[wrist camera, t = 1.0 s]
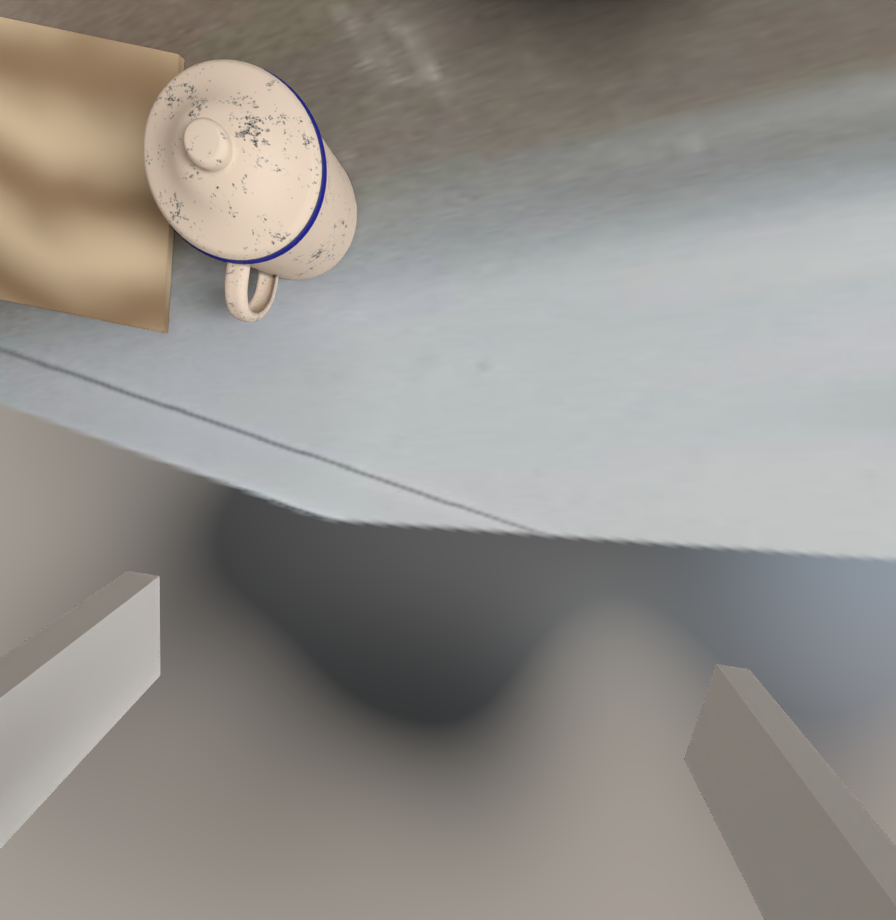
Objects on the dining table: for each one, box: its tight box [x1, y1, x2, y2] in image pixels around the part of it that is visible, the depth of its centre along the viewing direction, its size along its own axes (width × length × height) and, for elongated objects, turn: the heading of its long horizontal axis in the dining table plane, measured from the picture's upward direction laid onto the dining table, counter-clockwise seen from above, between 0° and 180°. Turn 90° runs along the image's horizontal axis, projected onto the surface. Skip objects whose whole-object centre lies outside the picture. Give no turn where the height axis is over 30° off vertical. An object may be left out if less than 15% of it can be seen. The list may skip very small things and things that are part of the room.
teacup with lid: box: [143, 59, 357, 322], centre depth 27 cm, size 12×9×12 cm
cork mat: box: [0, 17, 184, 333], centre depth 32 cm, size 17×20×1 cm
